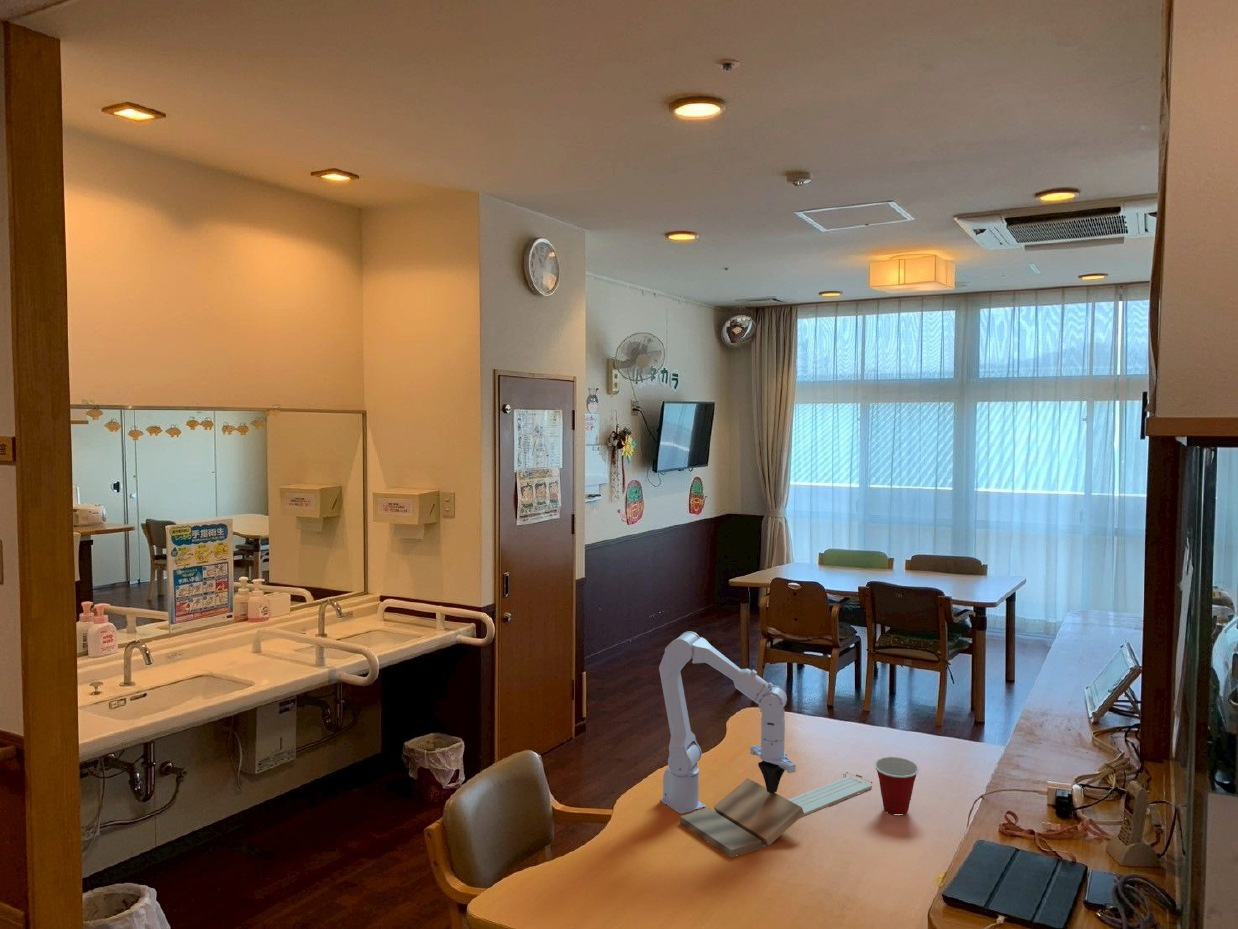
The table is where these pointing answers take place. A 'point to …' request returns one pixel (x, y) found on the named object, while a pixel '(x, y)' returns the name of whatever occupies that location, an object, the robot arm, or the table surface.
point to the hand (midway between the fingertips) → (772, 791)
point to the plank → (759, 811)
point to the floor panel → (721, 832)
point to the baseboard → (830, 794)
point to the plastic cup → (896, 783)
